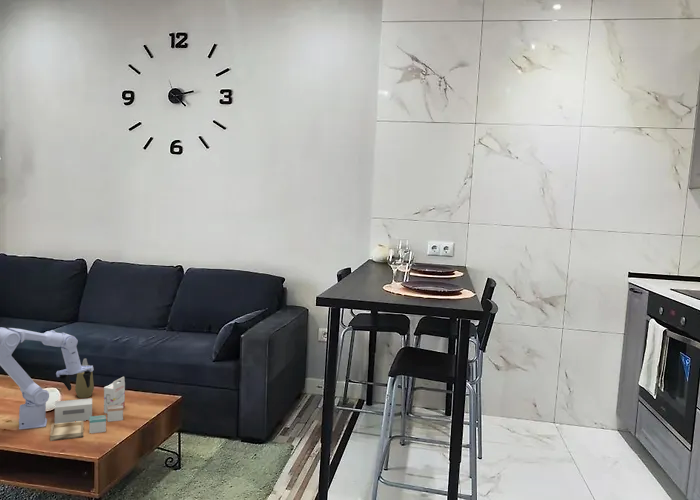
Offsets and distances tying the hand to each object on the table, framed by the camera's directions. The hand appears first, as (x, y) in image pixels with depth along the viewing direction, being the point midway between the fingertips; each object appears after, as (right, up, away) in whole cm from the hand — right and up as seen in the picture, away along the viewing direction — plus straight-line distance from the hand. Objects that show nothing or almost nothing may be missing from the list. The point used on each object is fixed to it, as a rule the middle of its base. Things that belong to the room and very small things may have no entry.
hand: (79, 387), depth 244 cm
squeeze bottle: (-6, -9, +18) cm, 21 cm away
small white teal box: (+15, -13, -17) cm, 26 cm away
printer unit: (+1, -11, -7) cm, 13 cm away
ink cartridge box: (+13, -11, +4) cm, 18 cm away
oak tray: (+5, -13, -20) cm, 25 cm away
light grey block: (+17, -12, -5) cm, 22 cm away
